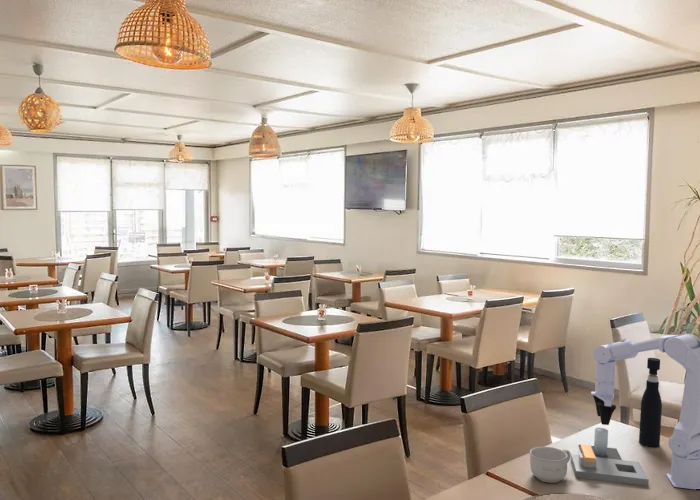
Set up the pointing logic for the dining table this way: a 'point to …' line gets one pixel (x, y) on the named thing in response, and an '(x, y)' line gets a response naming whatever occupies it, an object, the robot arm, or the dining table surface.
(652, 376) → the black bottle
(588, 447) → the plunger
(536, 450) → the teacup
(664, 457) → the dining table surface
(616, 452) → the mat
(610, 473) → the housing
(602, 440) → the cylinder
